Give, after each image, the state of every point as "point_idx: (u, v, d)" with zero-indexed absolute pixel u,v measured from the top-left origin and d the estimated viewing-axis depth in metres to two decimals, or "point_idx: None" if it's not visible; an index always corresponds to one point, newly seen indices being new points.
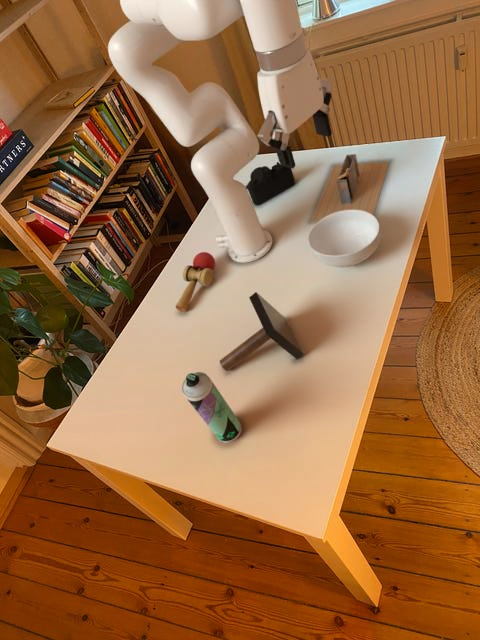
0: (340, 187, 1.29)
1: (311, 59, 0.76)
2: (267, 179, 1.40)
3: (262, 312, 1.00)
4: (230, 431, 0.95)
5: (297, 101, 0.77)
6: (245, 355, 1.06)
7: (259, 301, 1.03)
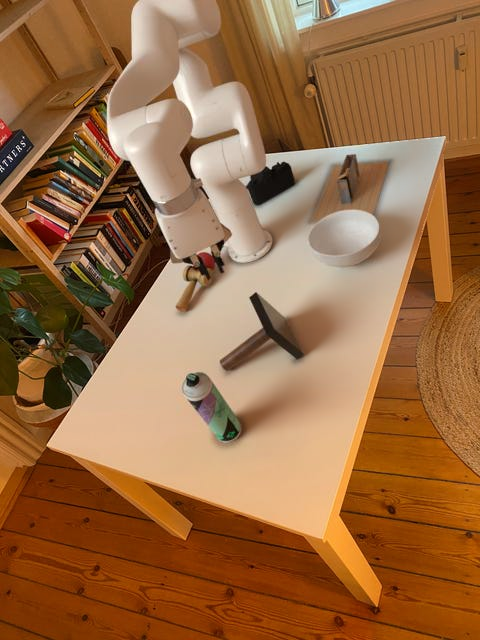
0: (340, 187, 1.29)
1: (204, 206, 0.83)
2: (267, 179, 1.40)
3: (262, 312, 1.00)
4: (230, 431, 0.95)
5: (187, 238, 0.86)
6: (245, 355, 1.06)
7: (259, 301, 1.03)
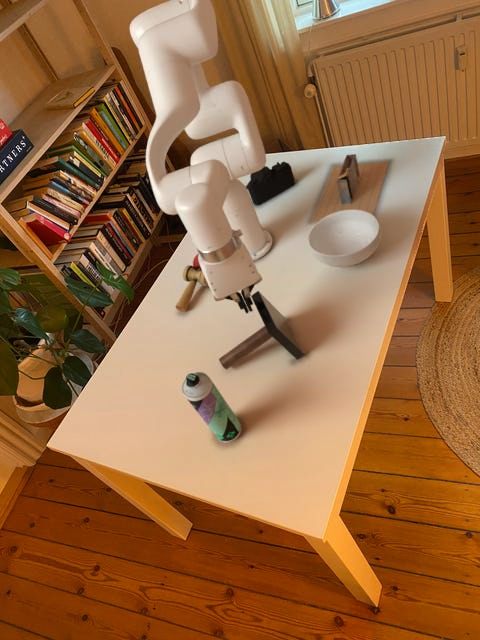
0: (340, 187, 1.29)
1: (243, 254, 0.92)
2: (267, 179, 1.40)
3: (265, 311, 1.00)
4: (230, 431, 0.95)
5: (226, 281, 0.95)
6: (245, 354, 1.06)
7: (261, 300, 1.03)
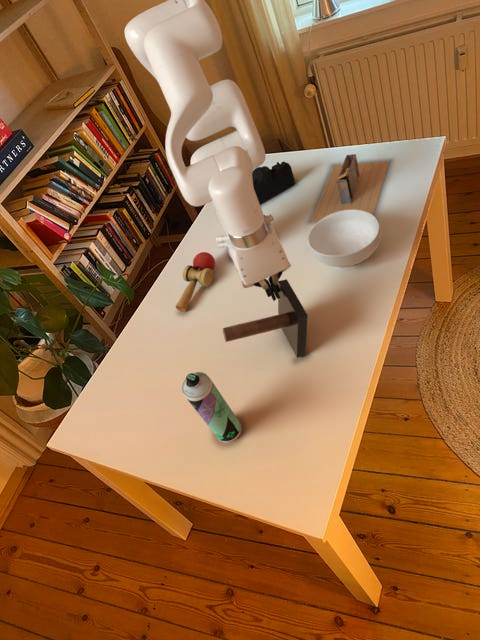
0: (340, 187, 1.29)
1: (274, 240, 0.92)
2: (267, 179, 1.40)
3: (294, 298, 1.00)
4: (230, 431, 0.95)
5: (256, 267, 0.95)
6: (252, 333, 1.02)
7: (290, 288, 1.03)
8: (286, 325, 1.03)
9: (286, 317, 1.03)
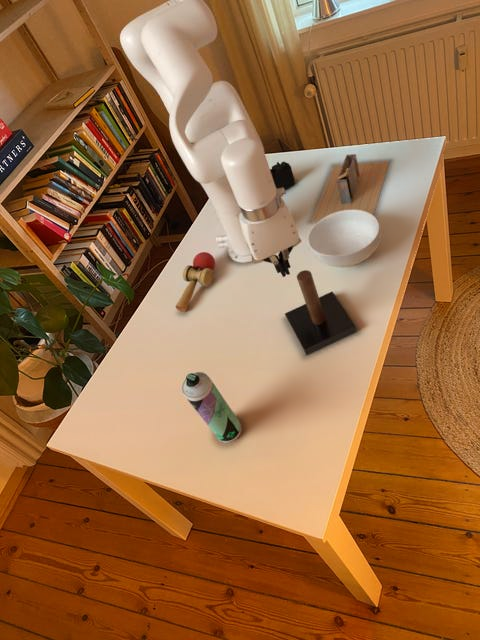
0: (340, 187, 1.29)
1: (285, 213, 0.92)
2: None
3: None
4: (230, 431, 0.95)
5: (267, 241, 0.94)
6: (313, 298, 1.00)
7: None
8: (319, 322, 1.06)
9: (325, 317, 1.06)
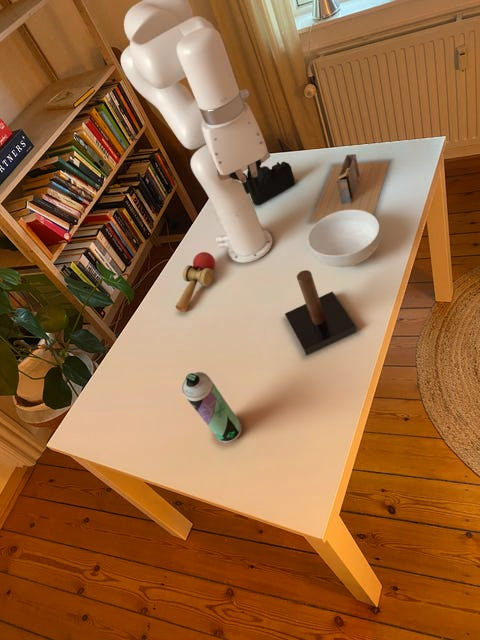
0: (340, 187, 1.29)
1: (250, 118, 0.86)
2: (267, 179, 1.40)
3: None
4: (230, 431, 0.95)
5: (232, 151, 0.88)
6: (313, 298, 1.00)
7: None
8: (319, 322, 1.06)
9: (325, 317, 1.06)
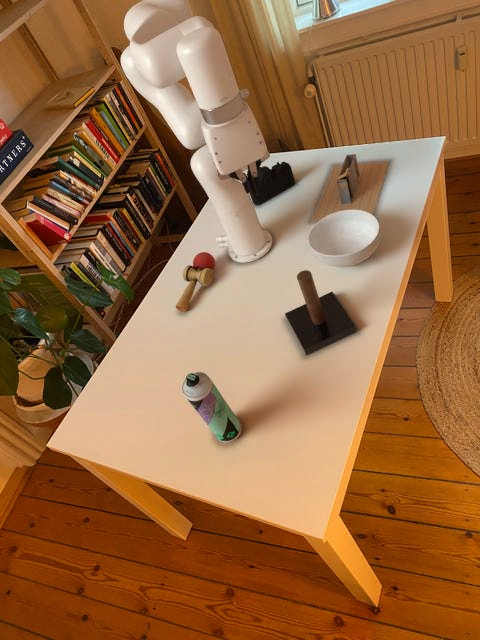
0: (340, 187, 1.29)
1: (250, 118, 0.86)
2: (267, 179, 1.40)
3: None
4: (230, 431, 0.95)
5: (232, 151, 0.88)
6: (313, 298, 1.00)
7: None
8: (319, 322, 1.06)
9: (325, 317, 1.06)
